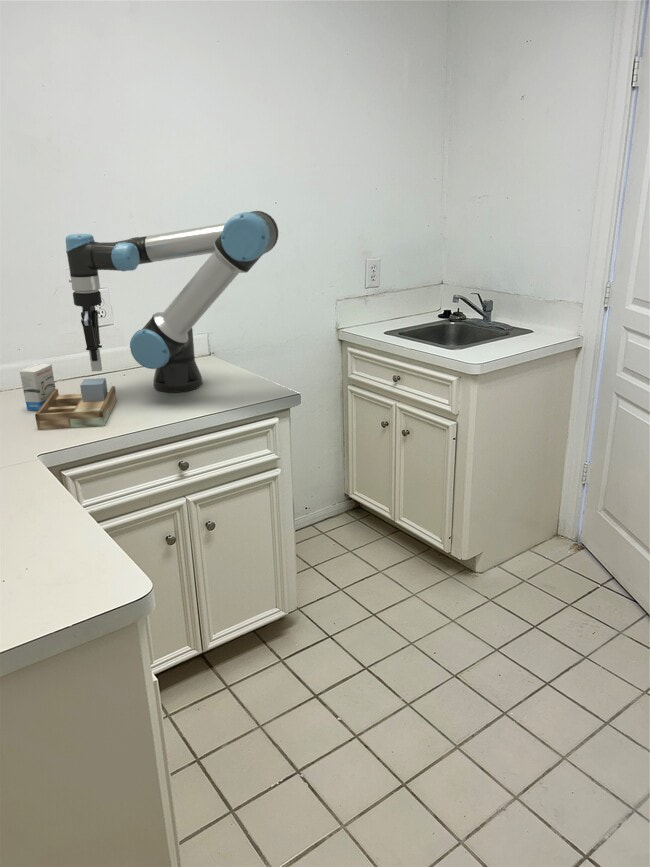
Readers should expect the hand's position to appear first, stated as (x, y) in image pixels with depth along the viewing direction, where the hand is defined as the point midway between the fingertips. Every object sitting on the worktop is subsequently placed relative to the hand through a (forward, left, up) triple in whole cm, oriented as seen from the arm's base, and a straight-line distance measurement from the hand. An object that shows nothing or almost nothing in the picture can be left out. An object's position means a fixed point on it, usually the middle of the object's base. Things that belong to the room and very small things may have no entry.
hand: (97, 370), depth 192 cm
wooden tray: (+3, +15, -8) cm, 17 cm away
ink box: (+15, +6, -8) cm, 18 cm away
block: (0, +9, -6) cm, 11 cm away
